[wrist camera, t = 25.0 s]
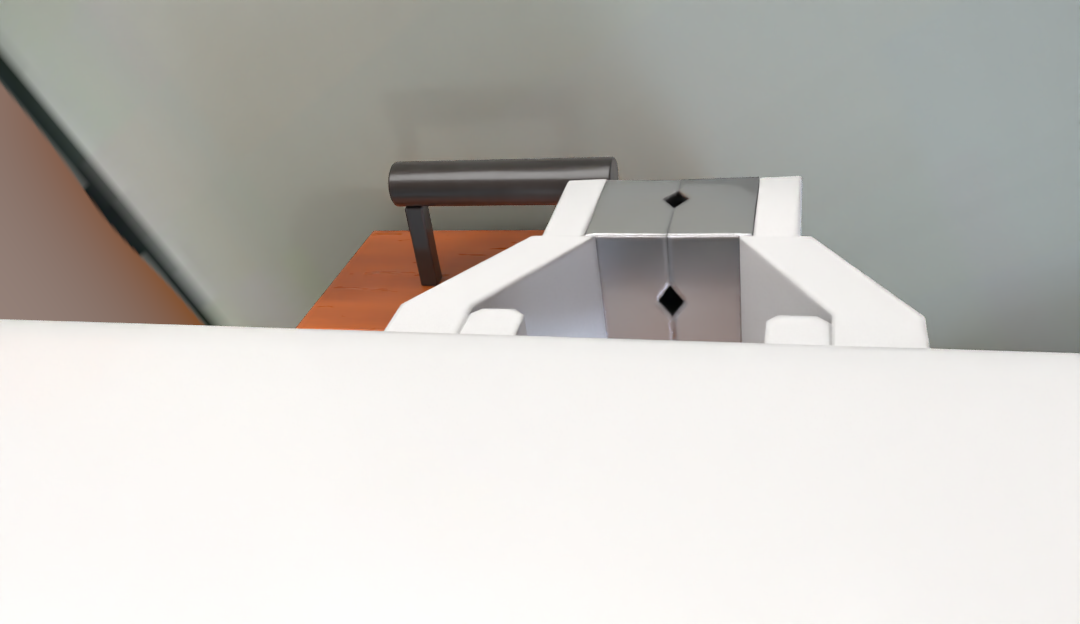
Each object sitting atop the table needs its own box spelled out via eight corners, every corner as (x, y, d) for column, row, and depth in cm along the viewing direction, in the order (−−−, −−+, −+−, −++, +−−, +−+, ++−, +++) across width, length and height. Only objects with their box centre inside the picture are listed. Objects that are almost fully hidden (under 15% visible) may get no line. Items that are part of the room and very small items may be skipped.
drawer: (347, 122, 33) (256, 206, 28) (731, 108, 30) (715, 202, 24) (440, 510, 43) (387, 630, 37) (737, 534, 40) (727, 670, 34)
